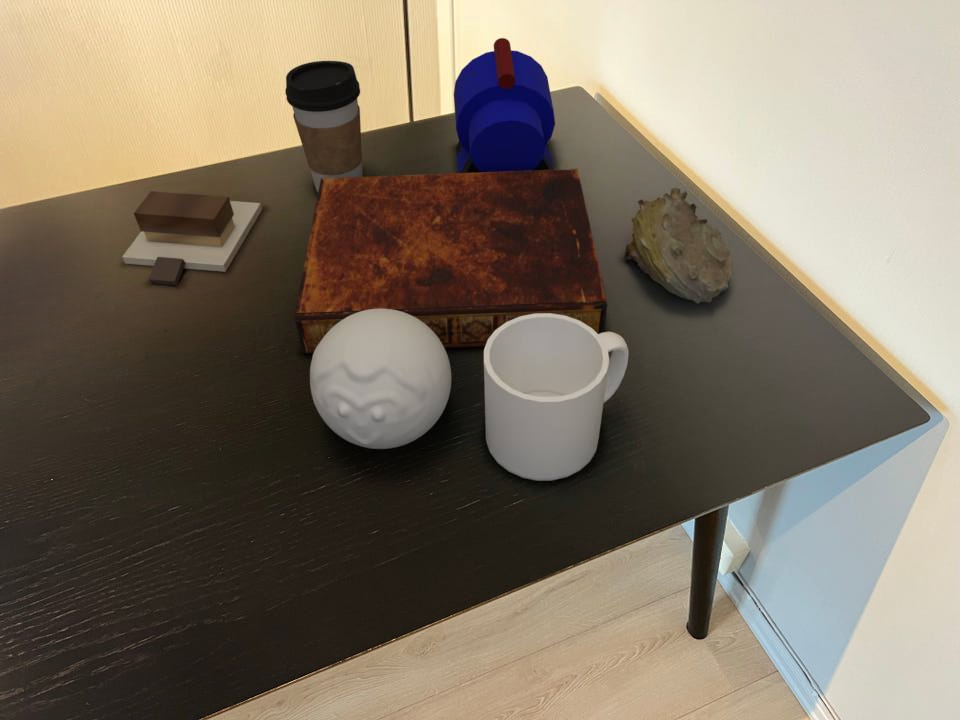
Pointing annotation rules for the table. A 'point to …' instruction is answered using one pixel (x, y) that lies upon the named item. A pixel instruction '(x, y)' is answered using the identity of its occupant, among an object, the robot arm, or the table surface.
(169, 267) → the dark brown square block
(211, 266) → the tile
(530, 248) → the book
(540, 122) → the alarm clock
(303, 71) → the coffee cup
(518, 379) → the mug
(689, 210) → the seashell
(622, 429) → the table surface
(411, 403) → the decorative ball
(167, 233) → the brown rectangular block
